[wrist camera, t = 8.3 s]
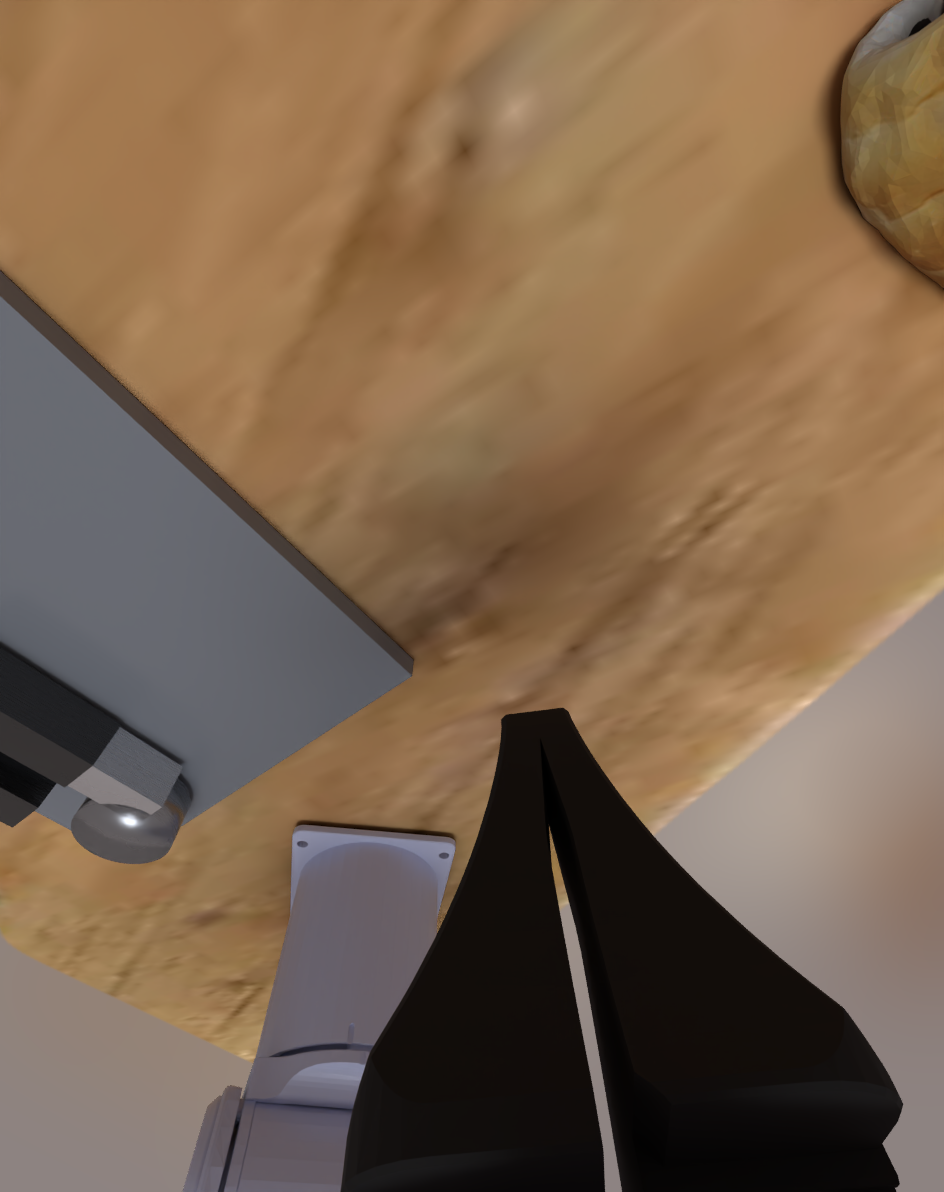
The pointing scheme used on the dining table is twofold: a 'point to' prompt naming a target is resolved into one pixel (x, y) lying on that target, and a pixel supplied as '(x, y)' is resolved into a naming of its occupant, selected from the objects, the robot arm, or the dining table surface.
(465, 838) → the dining table surface
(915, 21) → the pastry
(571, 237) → the dining table surface
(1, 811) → the arm
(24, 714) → the tongs moving arm
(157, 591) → the slate board
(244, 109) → the dining table surface
